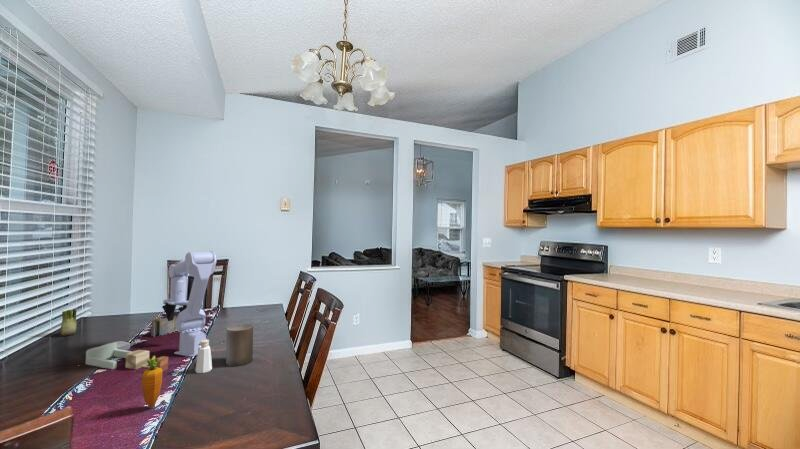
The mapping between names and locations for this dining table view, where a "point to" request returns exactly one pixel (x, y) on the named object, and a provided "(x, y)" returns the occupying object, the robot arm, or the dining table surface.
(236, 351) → the pillar candle
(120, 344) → the stone block
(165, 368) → the tethered block
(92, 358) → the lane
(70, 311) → the fennel bulb
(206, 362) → the pepper shaker
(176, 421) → the dining table surface
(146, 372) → the carrot
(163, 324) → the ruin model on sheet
